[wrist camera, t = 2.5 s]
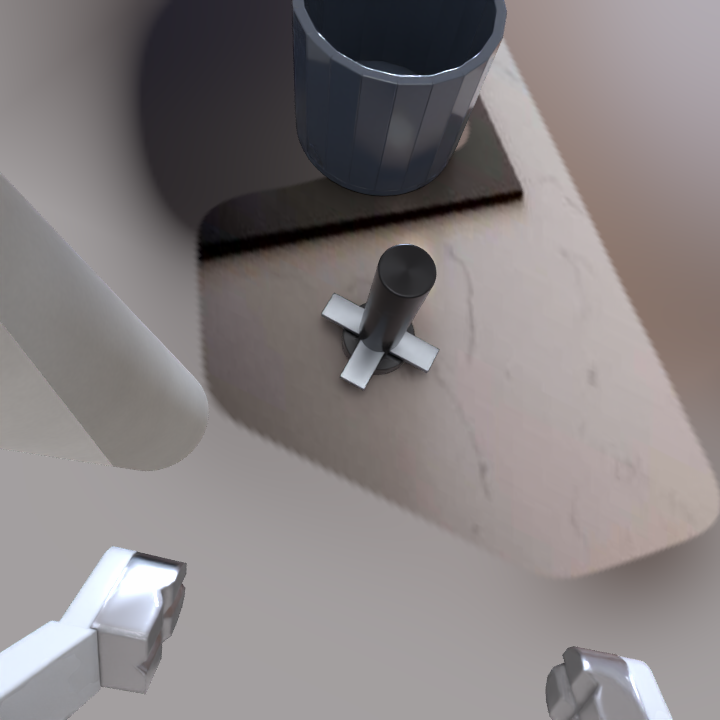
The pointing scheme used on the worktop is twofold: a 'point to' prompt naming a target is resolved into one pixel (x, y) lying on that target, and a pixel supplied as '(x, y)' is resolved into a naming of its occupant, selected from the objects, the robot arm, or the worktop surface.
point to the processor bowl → (389, 85)
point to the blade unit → (386, 317)
